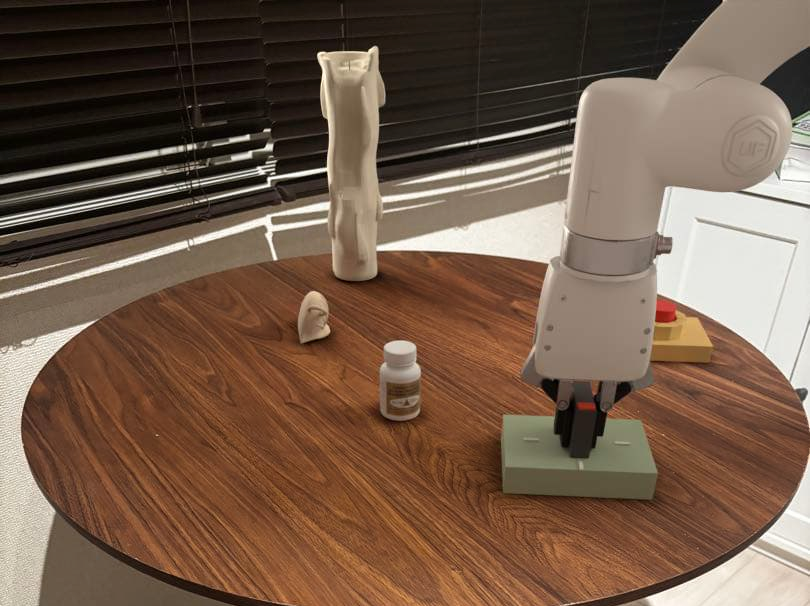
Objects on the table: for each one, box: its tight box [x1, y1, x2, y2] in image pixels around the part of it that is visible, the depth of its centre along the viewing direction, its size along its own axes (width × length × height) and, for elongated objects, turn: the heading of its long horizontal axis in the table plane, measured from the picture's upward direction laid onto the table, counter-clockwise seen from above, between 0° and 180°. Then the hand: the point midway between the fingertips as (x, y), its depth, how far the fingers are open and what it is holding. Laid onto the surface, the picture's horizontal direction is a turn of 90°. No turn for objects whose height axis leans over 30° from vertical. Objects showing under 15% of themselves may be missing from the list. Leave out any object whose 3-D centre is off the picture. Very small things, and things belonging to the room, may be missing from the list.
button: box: [655, 299, 678, 323], centre depth 101 cm, size 4×4×2 cm
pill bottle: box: [379, 340, 422, 422], centre depth 87 cm, size 4×4×8 cm
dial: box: [568, 380, 597, 458], centre depth 77 cm, size 6×2×5 cm, turn 176°
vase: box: [316, 45, 386, 282], centre depth 114 cm, size 9×8×30 cm
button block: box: [650, 309, 714, 364], centre depth 102 cm, size 12×9×4 cm
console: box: [500, 414, 659, 501], centre depth 80 cm, size 14×10×3 cm
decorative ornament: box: [297, 290, 331, 344], centre depth 104 cm, size 4×8×5 cm, turn 7°
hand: (576, 439), depth 79 cm, fingers closed on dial, 2 cm apart
